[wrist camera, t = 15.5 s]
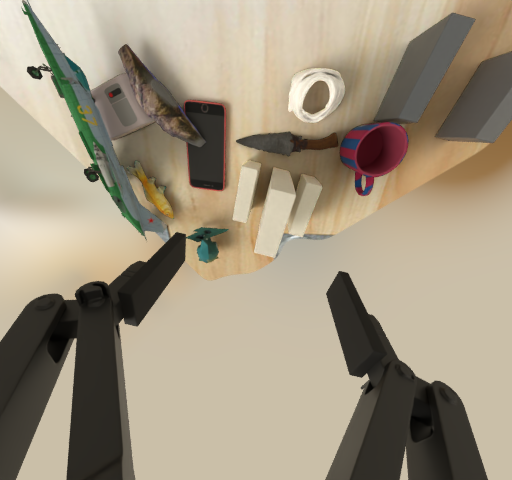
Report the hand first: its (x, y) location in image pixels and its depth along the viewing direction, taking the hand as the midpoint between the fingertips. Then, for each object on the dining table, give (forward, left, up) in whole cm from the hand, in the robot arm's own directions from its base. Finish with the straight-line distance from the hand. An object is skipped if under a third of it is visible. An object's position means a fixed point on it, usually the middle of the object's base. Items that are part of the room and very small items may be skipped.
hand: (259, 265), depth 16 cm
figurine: (+11, -13, -22) cm, 28 cm away
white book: (0, +1, -23) cm, 23 cm away
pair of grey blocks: (-19, +19, -23) cm, 36 cm away
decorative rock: (-11, -18, -22) cm, 31 cm away
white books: (0, +1, -23) cm, 23 cm away
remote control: (-7, -28, -23) cm, 37 cm away
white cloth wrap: (-15, +3, -24) cm, 28 cm away
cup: (-9, +13, -24) cm, 28 cm away
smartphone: (-4, -13, -23) cm, 27 cm away
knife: (-8, +1, -24) cm, 25 cm away
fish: (+4, -20, -22) cm, 30 cm away
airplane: (+1, -31, -15) cm, 34 cm away
